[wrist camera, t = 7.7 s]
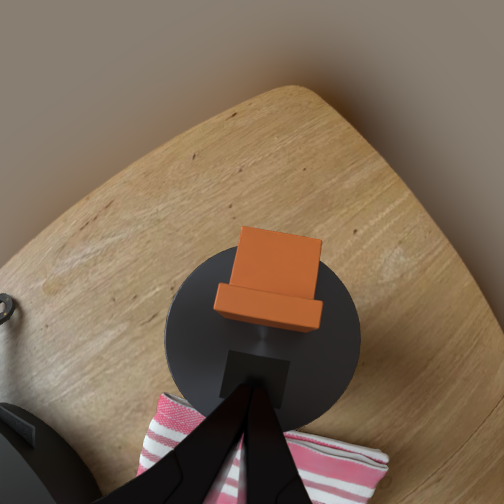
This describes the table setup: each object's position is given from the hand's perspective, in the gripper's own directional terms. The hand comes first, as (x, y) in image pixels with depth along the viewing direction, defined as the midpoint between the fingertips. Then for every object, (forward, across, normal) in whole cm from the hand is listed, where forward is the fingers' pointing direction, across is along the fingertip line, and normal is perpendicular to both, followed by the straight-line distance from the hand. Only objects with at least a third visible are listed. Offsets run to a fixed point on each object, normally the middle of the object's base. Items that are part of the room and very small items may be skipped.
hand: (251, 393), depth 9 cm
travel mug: (+10, 0, -7) cm, 12 cm away
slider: (+4, 0, +2) cm, 4 cm away
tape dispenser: (-3, -19, -20) cm, 28 cm away
